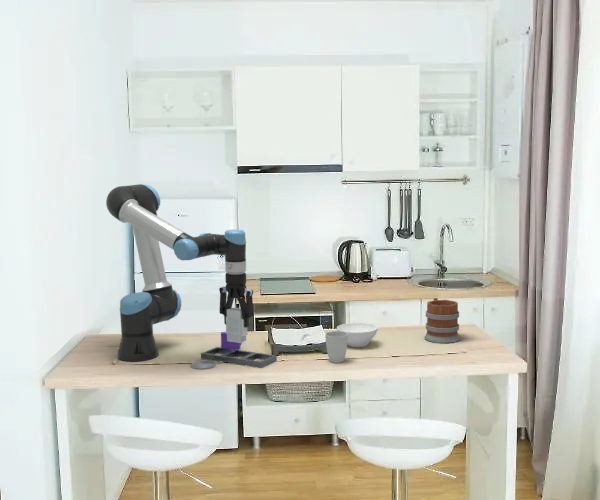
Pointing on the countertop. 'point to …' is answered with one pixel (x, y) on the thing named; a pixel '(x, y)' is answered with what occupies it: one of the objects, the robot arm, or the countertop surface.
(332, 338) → the cup
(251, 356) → the dark gray compartment tray
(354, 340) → the bowl
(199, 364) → the coaster
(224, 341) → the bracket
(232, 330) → the skincare box
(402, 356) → the countertop surface
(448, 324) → the mug
